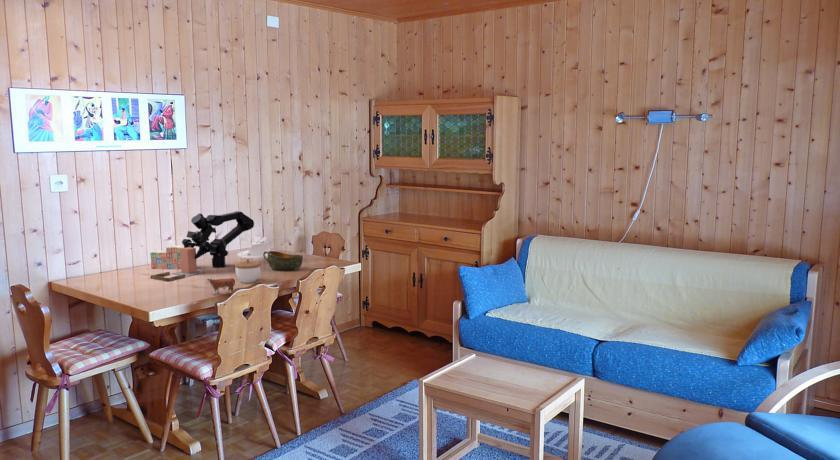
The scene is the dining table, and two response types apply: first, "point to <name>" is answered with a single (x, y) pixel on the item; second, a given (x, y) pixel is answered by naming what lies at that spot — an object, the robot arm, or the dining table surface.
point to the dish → (257, 249)
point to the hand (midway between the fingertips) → (189, 257)
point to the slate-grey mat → (189, 274)
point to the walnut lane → (159, 276)
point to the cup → (283, 261)
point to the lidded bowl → (248, 271)
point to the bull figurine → (221, 284)
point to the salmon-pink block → (188, 260)
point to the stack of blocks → (167, 258)
